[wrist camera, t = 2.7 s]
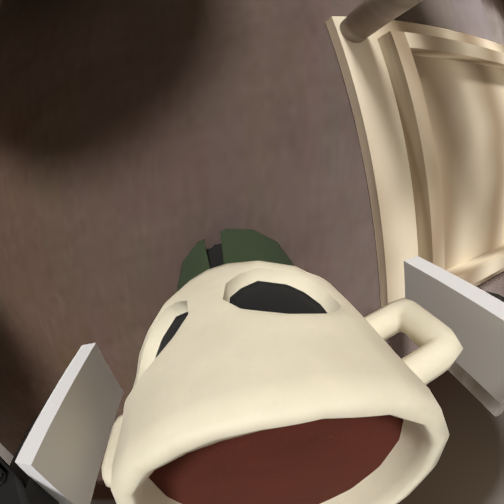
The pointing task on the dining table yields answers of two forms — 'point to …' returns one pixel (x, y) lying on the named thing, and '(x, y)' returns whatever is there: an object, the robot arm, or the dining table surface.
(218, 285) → the character mug
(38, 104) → the dining table surface
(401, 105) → the wooden tray with posts
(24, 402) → the dining table surface
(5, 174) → the dining table surface
